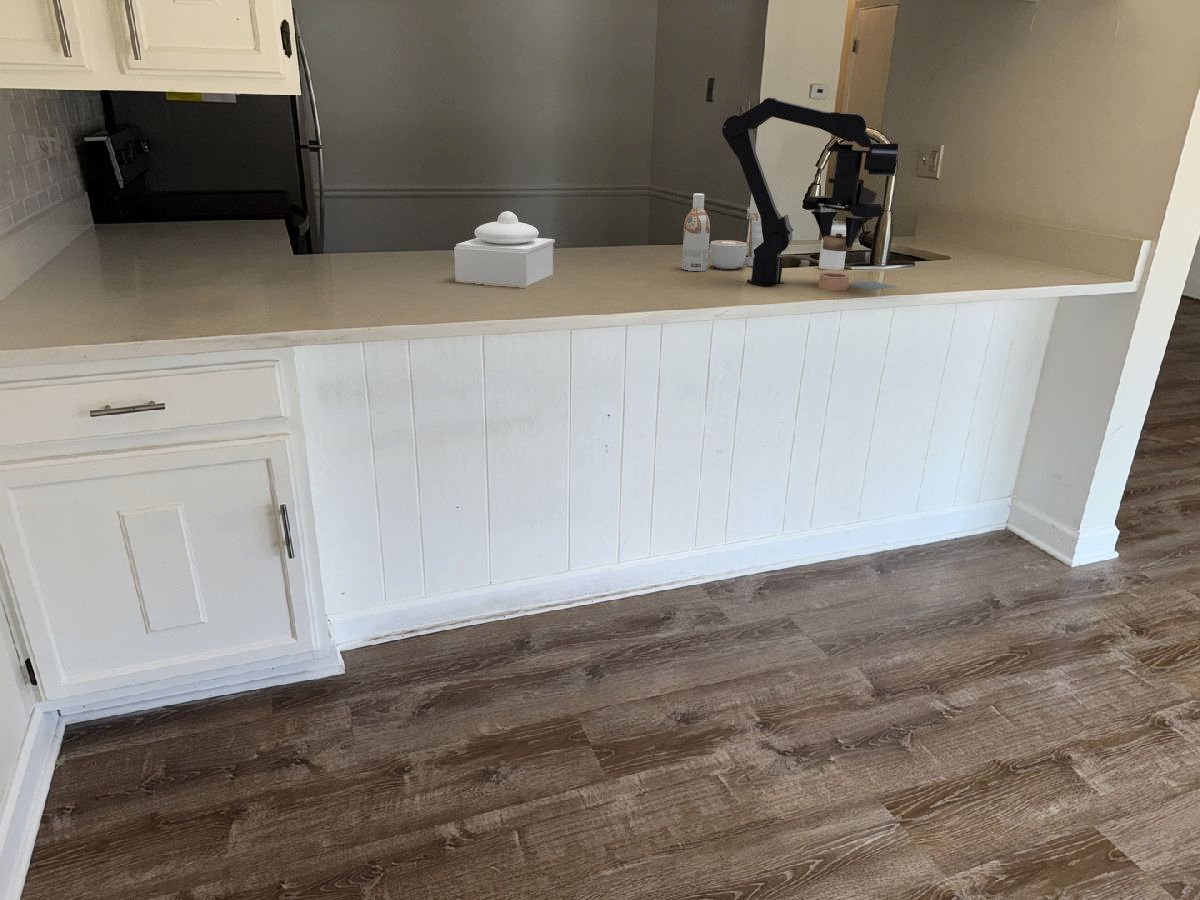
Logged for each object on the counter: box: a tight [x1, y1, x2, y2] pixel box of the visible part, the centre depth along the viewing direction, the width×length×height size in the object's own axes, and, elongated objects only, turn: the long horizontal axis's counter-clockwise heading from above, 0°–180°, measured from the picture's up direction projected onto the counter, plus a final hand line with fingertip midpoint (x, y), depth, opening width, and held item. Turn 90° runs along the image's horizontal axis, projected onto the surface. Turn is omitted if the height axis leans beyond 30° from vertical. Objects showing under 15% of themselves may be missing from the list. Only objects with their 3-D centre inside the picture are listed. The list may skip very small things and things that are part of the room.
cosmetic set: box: [681, 192, 764, 272], centre depth 218 cm, size 25×9×19 cm, turn 112°
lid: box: [823, 233, 854, 252], centre depth 194 cm, size 7×7×3 cm
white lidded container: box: [453, 210, 556, 287], centre depth 198 cm, size 18×18×16 cm
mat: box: [848, 280, 898, 291], centre depth 201 cm, size 10×8×1 cm
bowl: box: [818, 272, 850, 292], centre depth 198 cm, size 6×6×3 cm
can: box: [818, 220, 847, 271], centre depth 221 cm, size 6×6×12 cm
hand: (837, 245), depth 194 cm, fingers closed on lid, 7 cm apart
